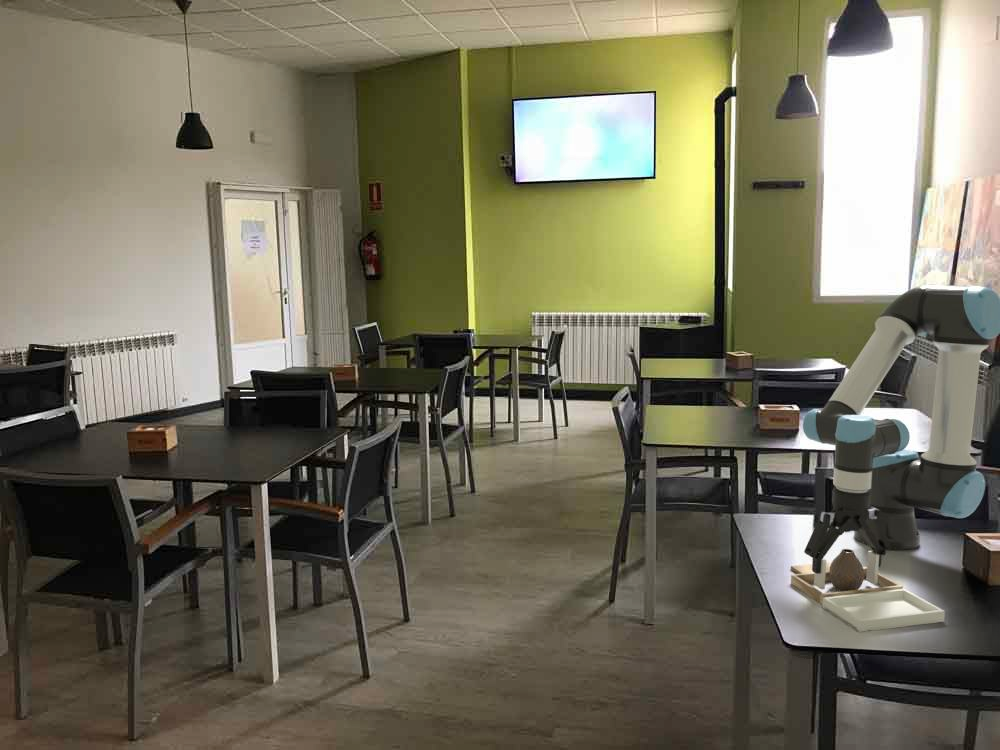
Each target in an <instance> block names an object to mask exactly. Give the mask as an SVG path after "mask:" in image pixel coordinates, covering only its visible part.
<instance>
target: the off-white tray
mask: <svg viewBox="0 0 1000 750" xmlns="http://www.w3.org/2000/svg"><path fill="white" fill-rule="evenodd" d="M822 609H824V610H825V611H826V612H828V613H830V614H831V615H832V616H834V617H835V618H837V619H838V620H839V621H841V622H843V624H846V625H847V626H849V627H851V628H852V629H854V630H855V631H856V630H857V631H856V632H858V633H860V632H861V633H862V632H869V631H868V630H871V631H877V630H887V629H895V628H904V627H910V626H919V625H927V624H934V623H944V622H945V616H946V615H945V614H946V613H945V612H946V611H945V610H944V609H942V608H940V607H939V606H937V605H934V604H933V603H931V602H929V601H927V600H926V599H924V598H922V597H920V596H918V595H916V594H915V593H913V592H912V591H909V590H908V589H905V588H903V589H897V590H888V591H879V592H870V593H861V594H852V595H843V596H834V597H825V598H823V604H822Z"/></svg>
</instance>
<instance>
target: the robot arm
mask: <svg viewBox="0 0 1000 750" xmlns="http://www.w3.org/2000/svg"><path fill="white" fill-rule="evenodd" d="M874 328H875V330H874V331H873V333H872V335H871V336H870V337H869V339H868V341H867V342H866V343H865V345H864V347H863V348H862V350H861V351H860V353H859V354H858V356H857V358H856V359H855V360H854V361H853V363H852V365H851V367H849V370H848V371H847V373H846V374H845V375H844V377H843V378H842V380H841V381H840V383H839V385H838V387H836V389H835V390H834V391H833V394H832V395H831V397H829V400H828V401H827V402H826V404H825V405H824V407H823V408H822V409H821V408H813V409H811V410H809V411H807V413H806V414H805V415H804V417H803V422H802V431H803V433H804V435H805V437H806V438H807V439H809V440H810V441H811V440H812V441H814V442H816V443H821V444H823V445H824V444H825V445H830V446H835V448H834V452H835V453H834V467H833V480H832V483H833V486H834V487H833V488H832V494H831V495H832V496H831V503H832V507H833V508H832V510H831V511H830V512H825V511H823V510H820V511H819V512H818V517H817V518H818V519H817V522H816V525H815V526H814V529H813V530H812V533H811V536H810V537H809V540H808V542H807V544H806V546H805V549H804V551H803V552H804V554H805V555H807V556H809V557H810V558H812V563H811V564H812V571H813V572H815V576H814V582H813V585H814V587H817V589H821V591H822V590H826V589H825V586H826V581H825V575H826V563H827V559H825V558H824V557H825V556H826V555H827V553H828V552H829V551H830V549H831V548H832V547H833V545H834V544H835V542H836V541H837V540H838V538H839V537H840V536H843V534H844V533H849V532H854V533H853V536H854V538H855V539H856V540H857V541H858V542H860V543H862V544H865V545H868V546H869V548H870V550H868V551H867V557H866V560H867V561H866V567H867V573H866V577H865V580H866V581H868V582H870V583H871V584H874V585H877V584H878V583H877V580H878V573H879V568H881V566H882V557H883V556H885V555H886V553H887V551H888V552H889V551H891V550H897V551H898V550H904V551H905V550H913V549H915V548H918V547H920V545H921V544H920V542H921V535H920V534H921V533H920V532H919V528H918V524H917V521H916V516H915V509H920V510H924V511H927V512H931V513H934V514H939V515H941V516H944V517H952V518H955V519H964V518H967V517H969V516H971V514H973V513H974V512H975V511H976V510H977V508H978V506H979V505H980V504H981V501H982V499H983V497H984V495H985V490H986V480H985V476H984V475H983V473H981V472H980V471H978V470H976V469H977V468H976V467H977V460H976V459H975V458H973V456H972V455H971V445H972V437H973V427H974V426H973V425H974V418H975V408H976V398H977V389H978V381H979V380H978V379H979V373H980V372H979V371H980V363H981V353H982V352H983V351H984V350H985V349H987V348H988V347H990V340H992V339H995V338H997V337H998V336H999V335H1000V297H999V295H998V293H997V292H996V291H995V290H993V289H992V288H990V287H987V286H977V285H949V284H948V285H947V284H946V285H945V284H944V285H942V284H939V285H937V284H923V285H919V286H916V287H912V288H911V289H909V290H907V291H906V292H904V293H902V294H901V295H899V296H898V297H896V298H895V299H894V300H892V302H891V303H890V304H888V305H887V306H886V307H885V308H884V309H883V311H881V313H880V314H879V316H878V317H877V319H876V321H875V322H874ZM921 334H930V335H932V334H933V336H932V344H934V346H935V347H936V348H937V349H938V355H937V356H938V358H937V365H936V373H935V374H936V377H935V384H934V385H935V386H934V393H933V394H934V395H933V405H932V415H931V424H930V425H931V426H930V433H929V441H928V442H929V444H928V449H927V450H926V451H925V452H923V453H922V454H921V455H920V456H919V453H918V452H917V451H915V450H909V449H906V448H907V447H908V445H909V443H910V439H911V438H910V437H911V436H910V432H909V429H908V427H907V425H905V423H904V422H902V421H901V420H898V419H895V418H883V419H875V418H873V417H871V416H867V415H862V413H863V411H864V409H865V408H866V406H867V405H868V403H869V402H870V400H871V399H872V397H873V395H874V394H875V392H876V391H877V389H878V388H879V386H880V385H881V383H882V382H883V380H884V378H885V377H886V376H887V374H888V373H889V371H890V369H891V368H892V367H893V365H894V363H895V361H896V360H897V359H898V357H899V356H900V354H901V353H902V351H903V350H904V348H905V347H906V346H907V345H910V344H912V343H913V342H914V341H915V339H916V337H917V336H919V335H921Z"/></svg>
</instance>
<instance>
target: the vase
mask: <svg viewBox="0 0 1000 750" xmlns="http://www.w3.org/2000/svg"><path fill="white" fill-rule="evenodd" d="M831 562H832V563H831V566H830V570H829V576H830V581H829V582H830V583H831V585H832V586H833V587H834V588H835V589H836V590H837V592H841V591H850V590H860V589H861V587H862V585H863V583H864V579H865V577H864V571H863V567H864V566H863V565H862V563H861V561H860V559H859V558H858V557H857V555H856V554H855V551H854V550H852V549H850V548H843V549H841V550H840V553H839V554H838V555H837V556H836V557H835V558H833V560H832V561H831Z"/></svg>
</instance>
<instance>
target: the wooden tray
mask: <svg viewBox="0 0 1000 750" xmlns="http://www.w3.org/2000/svg"><path fill="white" fill-rule="evenodd" d="M862 567H863V571H864V578H866V573H867V566H862ZM814 576H815V572H813V573H803V574H797V573H795V574H791V575H790V584H791V585H792V586H794V587H796V588H797V589H799V590H800V591H802V592H803V593H805V594H806V595H808V596H809V597H811V598H812V599H813V600H815V601H816V602H819V604H821V605H823V598H825V597H834V596H843V595H852V594H861V593H870V592H879V591H888V590H897V589H904V585H903V586H902V585H901V584H899V583H897V582H896V581H894V580H892V579H890V578H888V577H886V576H885V575H883V574H881V573H880V572H878V580H877V584H879V587H869V588H862V589H861V588H859V589H858V590H850V591H835V592H833V591H832V592H826V593H825V592H824V593H823V591H822V590H821V591H820V590H819V589H818V588H816V587H815V586H813V585H811V584H812V583H814ZM825 582H831V581H830V576H829V571H826V575H825Z"/></svg>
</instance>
